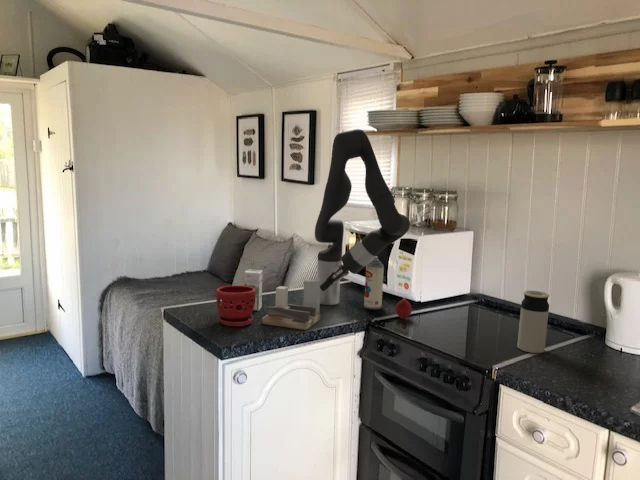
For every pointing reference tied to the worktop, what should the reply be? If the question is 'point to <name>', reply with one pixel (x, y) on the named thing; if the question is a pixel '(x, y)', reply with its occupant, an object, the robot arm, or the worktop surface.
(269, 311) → the switch plate
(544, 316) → the travel mug
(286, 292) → the switch knob
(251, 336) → the worktop surface
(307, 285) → the skincare box
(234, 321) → the plant pot
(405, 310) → the onion
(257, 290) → the syrup box
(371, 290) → the aerosol can
